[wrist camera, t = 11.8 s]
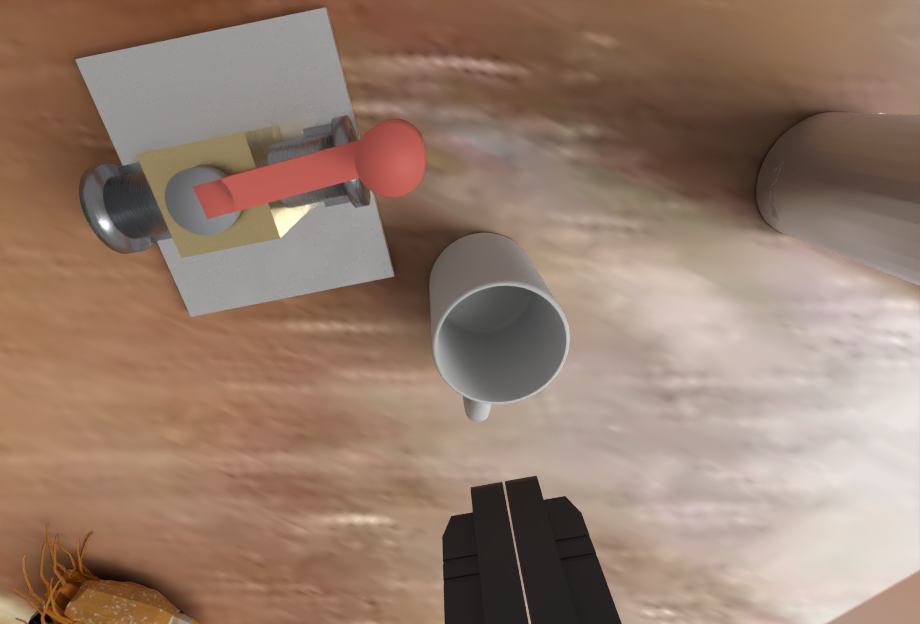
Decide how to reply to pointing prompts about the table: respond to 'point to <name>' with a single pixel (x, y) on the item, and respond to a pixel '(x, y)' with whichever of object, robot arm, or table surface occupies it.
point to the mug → (494, 323)
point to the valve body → (234, 159)
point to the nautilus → (97, 598)
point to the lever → (298, 177)
